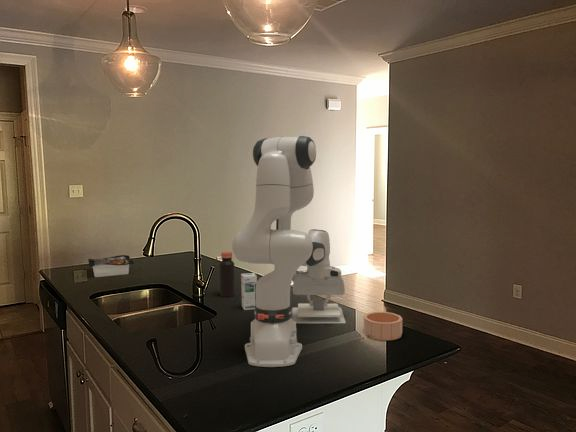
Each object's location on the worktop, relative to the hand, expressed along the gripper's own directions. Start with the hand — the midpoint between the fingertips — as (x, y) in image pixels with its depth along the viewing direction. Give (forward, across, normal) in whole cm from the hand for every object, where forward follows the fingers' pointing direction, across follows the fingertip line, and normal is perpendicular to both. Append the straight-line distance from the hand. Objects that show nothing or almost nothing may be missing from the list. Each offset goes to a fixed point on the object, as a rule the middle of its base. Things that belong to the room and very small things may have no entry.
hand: (318, 305), depth 189 cm
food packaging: (+4, -115, +82) cm, 141 cm away
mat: (+5, 0, +1) cm, 5 cm away
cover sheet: (+2, 0, 0) cm, 2 cm away
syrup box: (+5, -28, +13) cm, 32 cm away
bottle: (+5, -41, +33) cm, 53 cm away
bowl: (+5, +22, -18) cm, 29 cm away
